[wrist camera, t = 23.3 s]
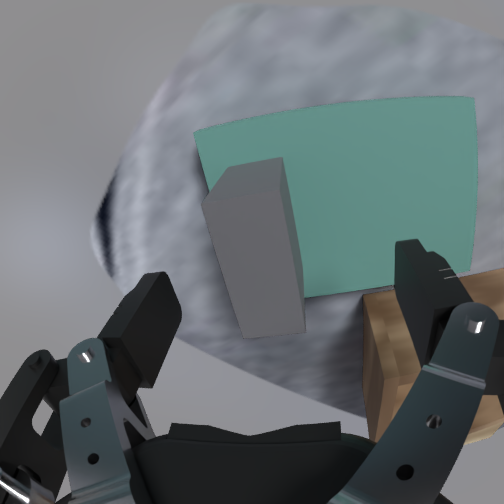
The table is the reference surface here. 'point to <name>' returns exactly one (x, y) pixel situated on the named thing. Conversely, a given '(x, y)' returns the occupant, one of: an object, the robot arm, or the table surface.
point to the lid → (335, 199)
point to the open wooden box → (412, 354)
